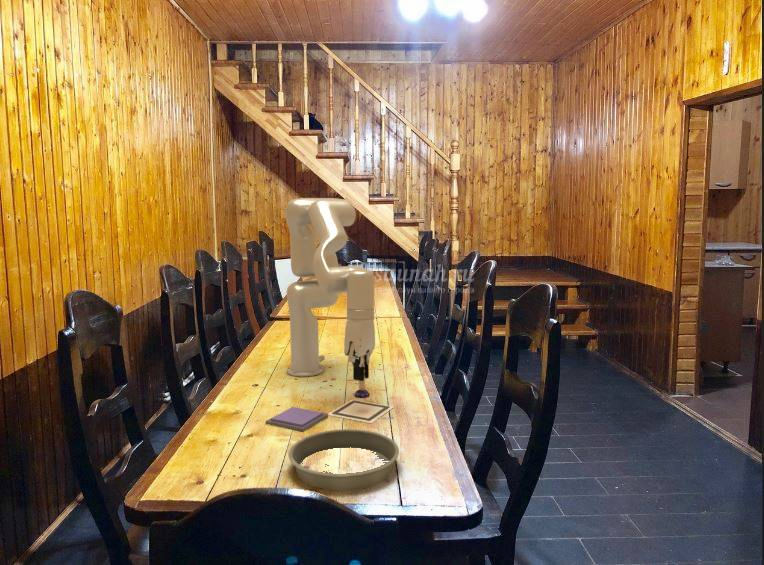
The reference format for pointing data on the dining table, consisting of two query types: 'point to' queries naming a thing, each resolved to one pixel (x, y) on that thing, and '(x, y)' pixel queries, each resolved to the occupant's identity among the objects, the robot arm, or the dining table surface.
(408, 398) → the dining table surface
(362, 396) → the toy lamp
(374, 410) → the marked card
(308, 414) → the ink pad
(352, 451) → the dining table surface
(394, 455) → the cake pan
